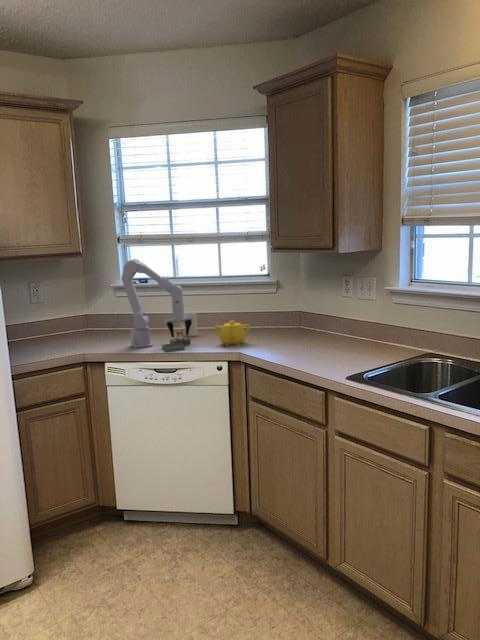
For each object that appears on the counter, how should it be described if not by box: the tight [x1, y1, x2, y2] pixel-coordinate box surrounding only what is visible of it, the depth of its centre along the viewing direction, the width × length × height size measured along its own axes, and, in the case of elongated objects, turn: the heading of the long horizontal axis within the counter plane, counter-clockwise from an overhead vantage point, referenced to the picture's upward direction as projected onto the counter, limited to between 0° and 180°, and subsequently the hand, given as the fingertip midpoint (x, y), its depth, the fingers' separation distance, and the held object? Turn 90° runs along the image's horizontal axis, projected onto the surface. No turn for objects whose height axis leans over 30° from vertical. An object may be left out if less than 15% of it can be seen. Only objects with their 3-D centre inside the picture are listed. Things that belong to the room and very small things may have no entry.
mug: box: [179, 312, 198, 337], centre depth 300 cm, size 10×7×12 cm, turn 63°
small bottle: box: [176, 329, 184, 341], centre depth 278 cm, size 3×3×7 cm
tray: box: [161, 343, 186, 353], centre depth 269 cm, size 9×9×2 cm
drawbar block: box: [169, 336, 192, 346], centre depth 279 cm, size 9×7×2 cm
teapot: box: [214, 320, 251, 347], centre depth 273 cm, size 14×14×12 cm
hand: (180, 335), depth 278 cm, fingers open, 7 cm apart
